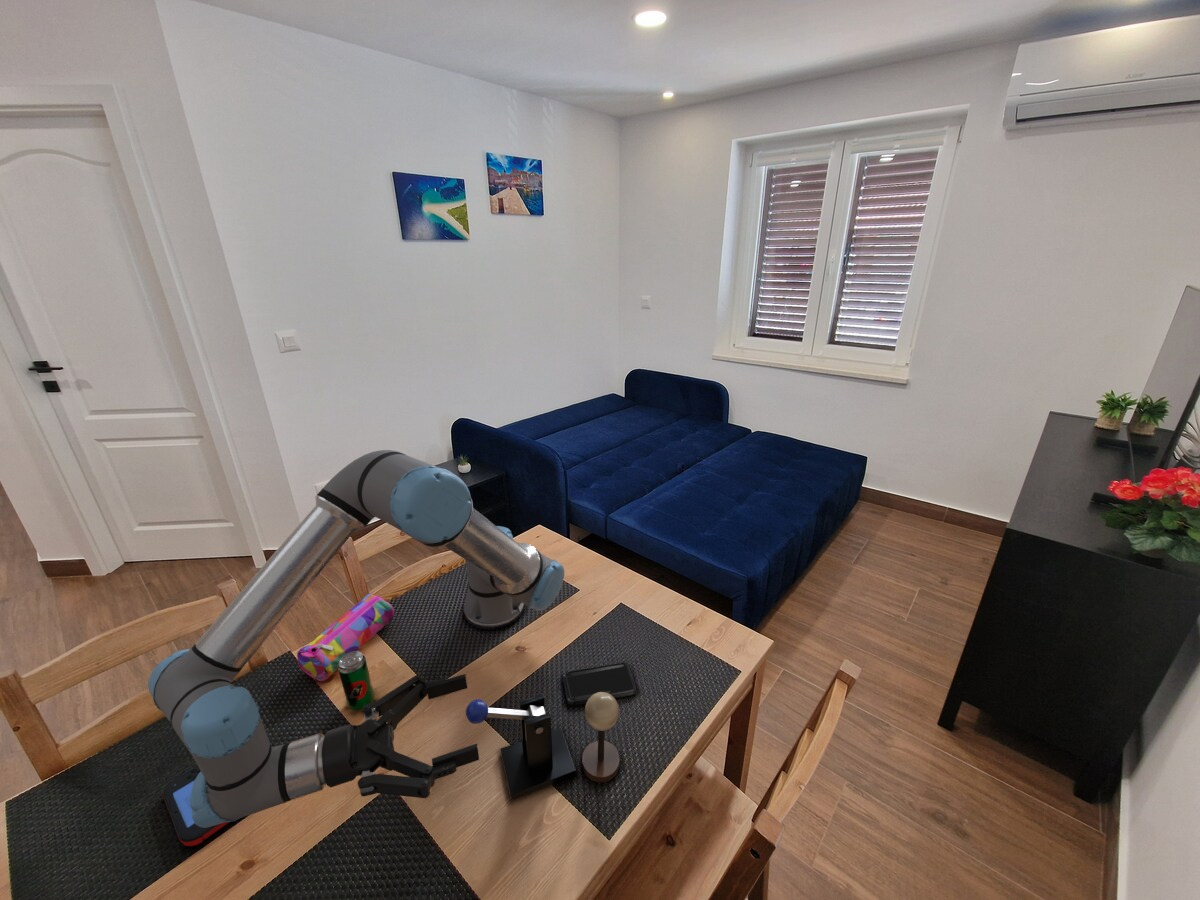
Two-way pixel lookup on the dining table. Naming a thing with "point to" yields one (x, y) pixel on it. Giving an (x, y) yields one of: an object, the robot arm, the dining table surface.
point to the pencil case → (344, 637)
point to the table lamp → (601, 738)
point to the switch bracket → (536, 754)
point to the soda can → (355, 680)
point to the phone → (598, 682)
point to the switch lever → (499, 712)
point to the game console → (186, 809)
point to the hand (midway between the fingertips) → (472, 713)
